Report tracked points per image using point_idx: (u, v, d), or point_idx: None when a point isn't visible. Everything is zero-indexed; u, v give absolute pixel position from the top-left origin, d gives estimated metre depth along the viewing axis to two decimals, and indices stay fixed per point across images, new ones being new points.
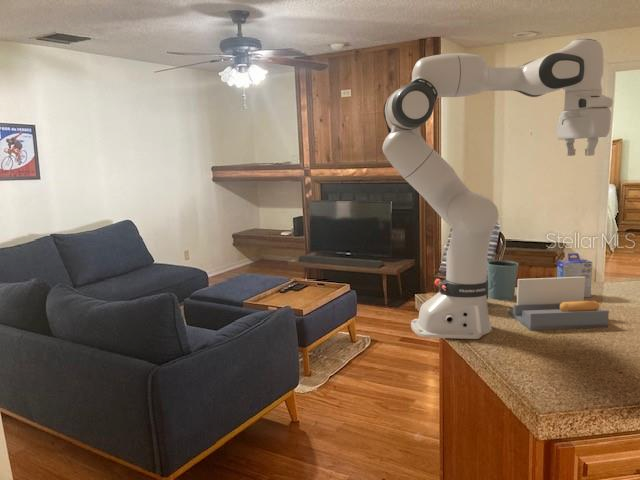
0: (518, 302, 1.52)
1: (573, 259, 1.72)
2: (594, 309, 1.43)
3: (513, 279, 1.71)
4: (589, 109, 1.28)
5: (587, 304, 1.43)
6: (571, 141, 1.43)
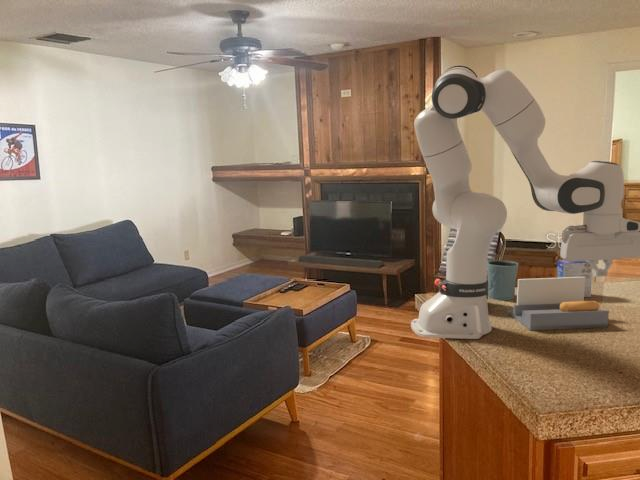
0: (518, 302, 1.52)
1: None
2: (594, 309, 1.43)
3: (513, 279, 1.71)
4: (638, 232, 1.29)
5: (587, 304, 1.43)
6: None
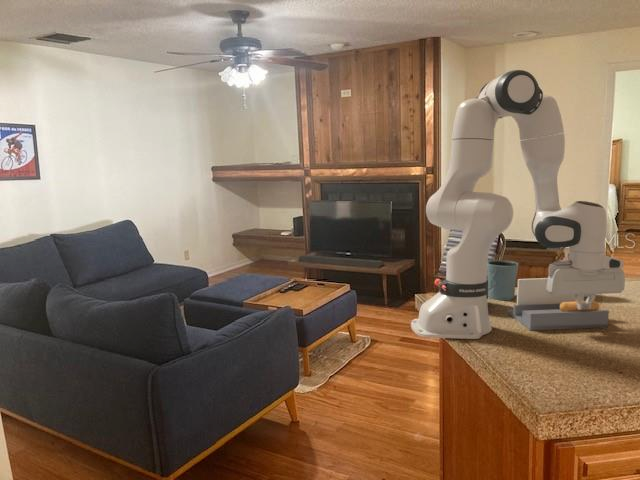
0: (518, 302, 1.52)
1: None
2: (594, 309, 1.43)
3: (513, 279, 1.71)
4: (620, 269, 1.37)
5: None
6: None
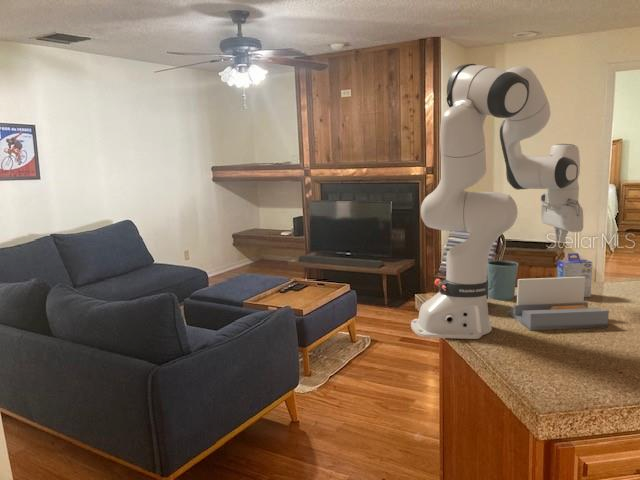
0: (518, 302, 1.52)
1: (573, 259, 1.72)
2: None
3: (513, 279, 1.71)
4: None
5: None
6: None
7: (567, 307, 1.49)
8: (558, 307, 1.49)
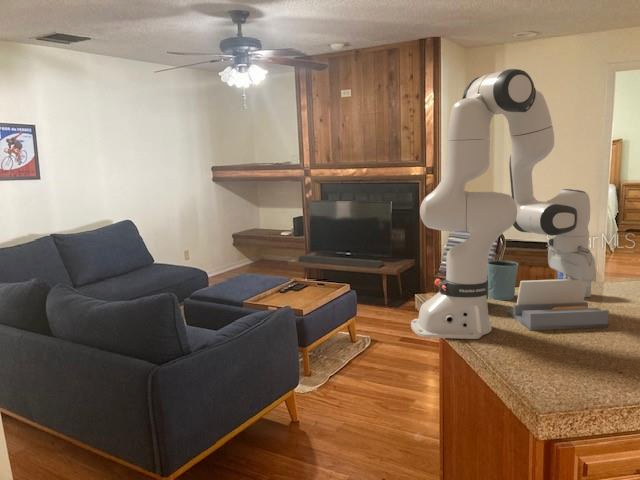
0: (518, 302, 1.52)
1: None
2: None
3: (513, 279, 1.71)
4: None
5: None
6: None
7: None
8: None
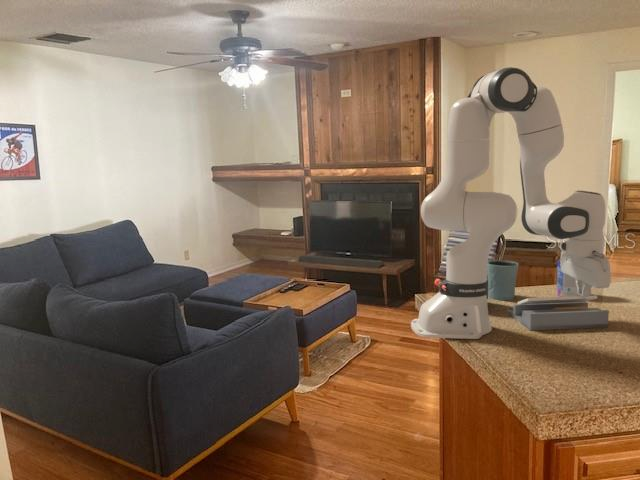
0: (519, 304, 1.52)
1: None
2: None
3: (513, 279, 1.71)
4: None
5: None
6: None
7: None
8: None
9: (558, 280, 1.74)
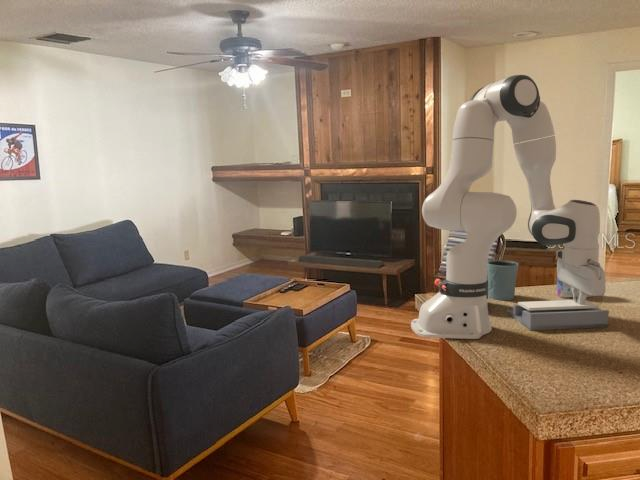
0: (519, 304, 1.51)
1: None
2: None
3: (513, 279, 1.71)
4: None
5: None
6: None
7: None
8: None
9: (558, 280, 1.74)
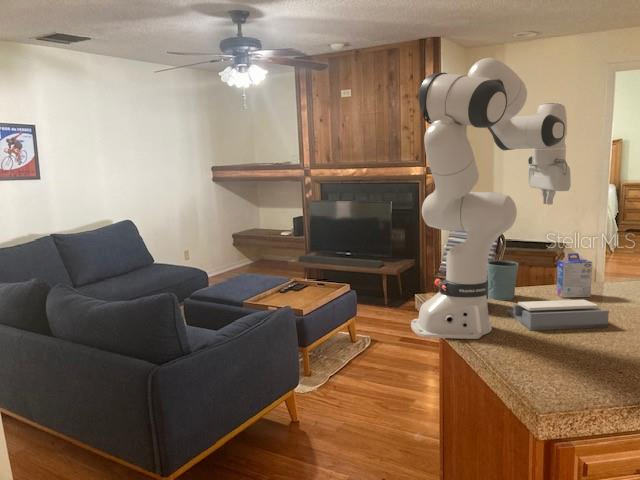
0: (519, 304, 1.51)
1: (573, 259, 1.72)
2: None
3: (513, 279, 1.71)
4: None
5: None
6: None
7: None
8: None
9: (558, 280, 1.74)
